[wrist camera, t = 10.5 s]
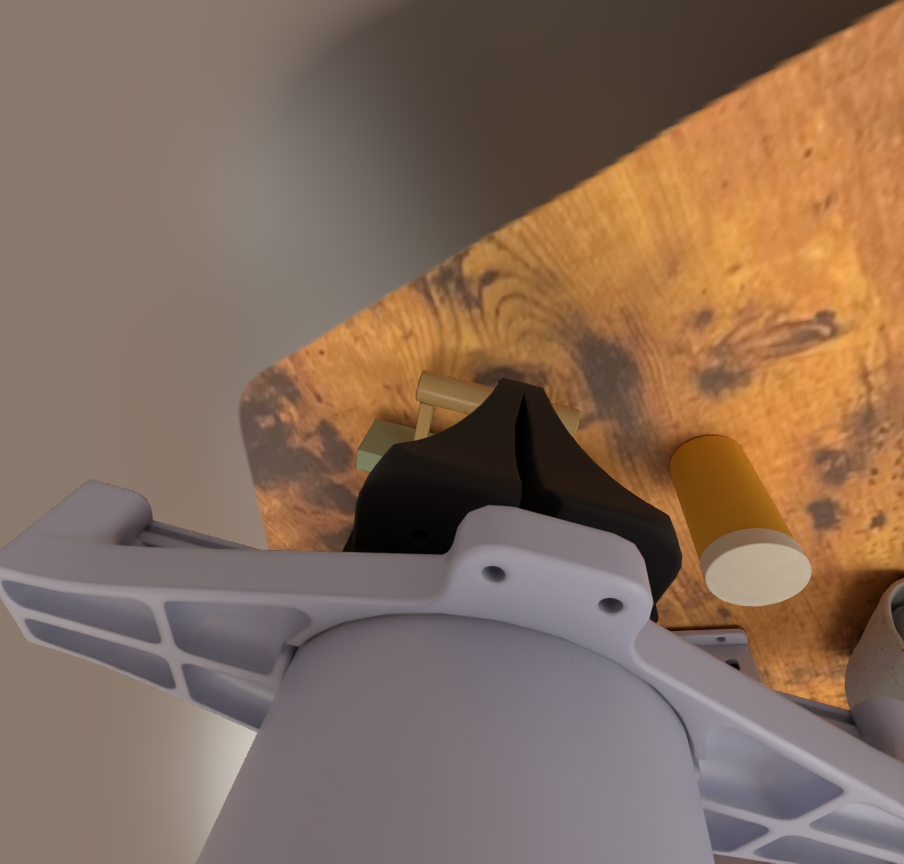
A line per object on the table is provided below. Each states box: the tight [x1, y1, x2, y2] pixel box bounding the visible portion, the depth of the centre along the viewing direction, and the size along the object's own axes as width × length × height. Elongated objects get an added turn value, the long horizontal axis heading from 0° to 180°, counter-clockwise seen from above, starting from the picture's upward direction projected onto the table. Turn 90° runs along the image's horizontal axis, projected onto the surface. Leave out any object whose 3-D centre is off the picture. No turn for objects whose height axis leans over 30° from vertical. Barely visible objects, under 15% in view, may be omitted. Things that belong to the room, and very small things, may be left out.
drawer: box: [356, 370, 580, 472], centre depth 25 cm, size 17×11×3 cm
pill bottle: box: [669, 435, 811, 606], centre depth 20 cm, size 4×4×7 cm
